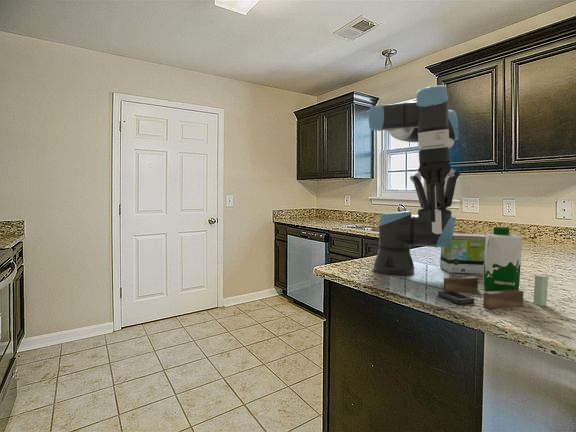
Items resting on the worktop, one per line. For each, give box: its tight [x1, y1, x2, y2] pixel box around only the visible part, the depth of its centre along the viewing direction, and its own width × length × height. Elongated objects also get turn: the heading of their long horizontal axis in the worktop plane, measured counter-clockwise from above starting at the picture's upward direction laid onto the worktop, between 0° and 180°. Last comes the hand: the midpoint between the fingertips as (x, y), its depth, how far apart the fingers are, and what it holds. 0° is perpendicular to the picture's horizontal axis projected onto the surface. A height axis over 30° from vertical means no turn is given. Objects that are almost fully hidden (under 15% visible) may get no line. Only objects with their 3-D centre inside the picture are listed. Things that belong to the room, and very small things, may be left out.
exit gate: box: [482, 269, 549, 307], centre depth 98 cm, size 19×2×8 cm, turn 15°
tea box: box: [439, 232, 486, 275], centre depth 129 cm, size 15×10×15 cm, turn 86°
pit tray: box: [437, 290, 475, 306], centre depth 93 cm, size 8×5×2 cm, turn 15°
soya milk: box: [483, 226, 523, 292], centre depth 98 cm, size 9×9×20 cm
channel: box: [442, 275, 524, 310], centre depth 95 cm, size 17×11×4 cm, turn 15°
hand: (437, 232), depth 92 cm, fingers closed
